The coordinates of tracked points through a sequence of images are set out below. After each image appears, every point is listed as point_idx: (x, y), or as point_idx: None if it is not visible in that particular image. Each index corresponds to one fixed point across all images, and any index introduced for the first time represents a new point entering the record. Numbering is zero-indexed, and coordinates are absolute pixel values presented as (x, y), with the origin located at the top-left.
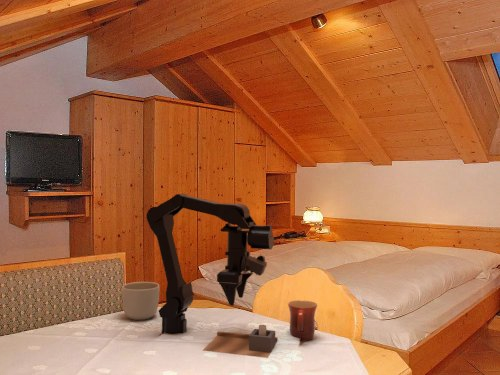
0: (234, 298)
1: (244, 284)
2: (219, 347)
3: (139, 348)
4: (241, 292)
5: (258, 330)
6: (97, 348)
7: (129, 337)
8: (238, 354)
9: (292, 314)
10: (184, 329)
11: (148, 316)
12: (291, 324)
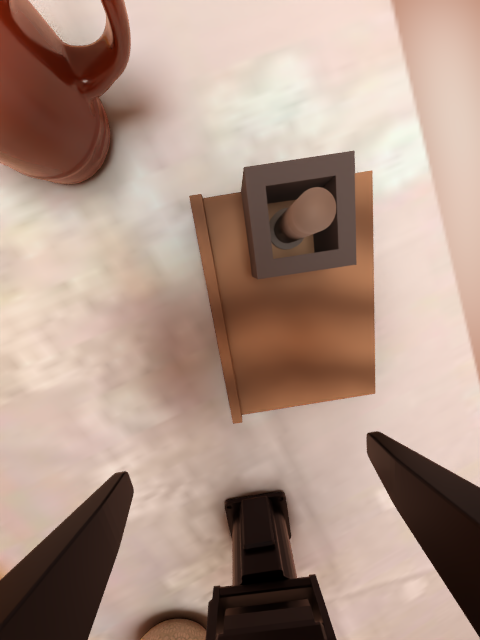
0: (443, 471)
1: (5, 634)
2: (337, 361)
3: (375, 526)
4: (105, 522)
5: (271, 253)
6: (402, 586)
7: (318, 578)
8: (372, 281)
9: (11, 87)
10: (259, 510)
11: (190, 628)
12: (63, 139)
